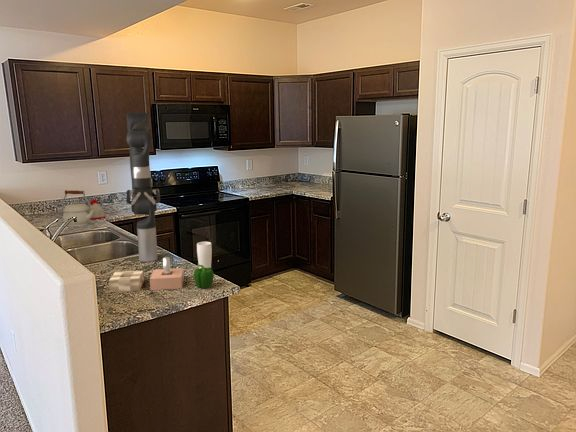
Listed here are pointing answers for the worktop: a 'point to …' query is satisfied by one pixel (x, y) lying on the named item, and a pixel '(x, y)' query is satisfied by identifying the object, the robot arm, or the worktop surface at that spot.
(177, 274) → the dock block
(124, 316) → the worktop surface
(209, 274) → the bell pepper
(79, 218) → the kettle
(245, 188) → the worktop surface
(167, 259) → the lock pin
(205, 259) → the drinking glass
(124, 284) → the mount block
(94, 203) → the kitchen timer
